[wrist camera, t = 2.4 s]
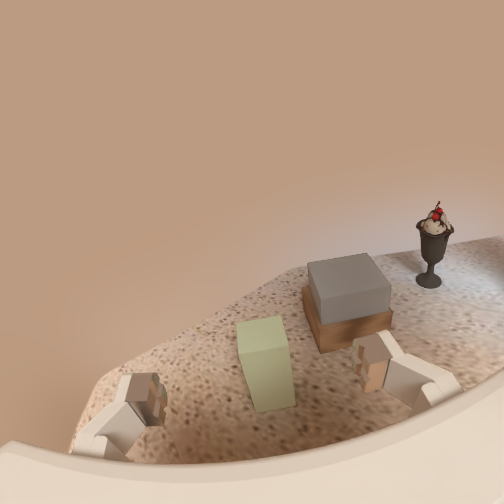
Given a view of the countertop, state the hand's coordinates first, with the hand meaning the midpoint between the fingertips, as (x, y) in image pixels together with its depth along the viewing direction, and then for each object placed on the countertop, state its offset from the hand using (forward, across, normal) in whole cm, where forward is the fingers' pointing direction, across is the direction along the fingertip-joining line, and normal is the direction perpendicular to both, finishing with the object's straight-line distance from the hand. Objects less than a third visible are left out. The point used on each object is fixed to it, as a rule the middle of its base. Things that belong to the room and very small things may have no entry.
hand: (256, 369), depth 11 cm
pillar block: (+13, 0, +19) cm, 23 cm away
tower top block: (+23, -13, +15) cm, 30 cm away
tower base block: (+23, -12, +19) cm, 33 cm away
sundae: (+27, -31, +19) cm, 45 cm away
